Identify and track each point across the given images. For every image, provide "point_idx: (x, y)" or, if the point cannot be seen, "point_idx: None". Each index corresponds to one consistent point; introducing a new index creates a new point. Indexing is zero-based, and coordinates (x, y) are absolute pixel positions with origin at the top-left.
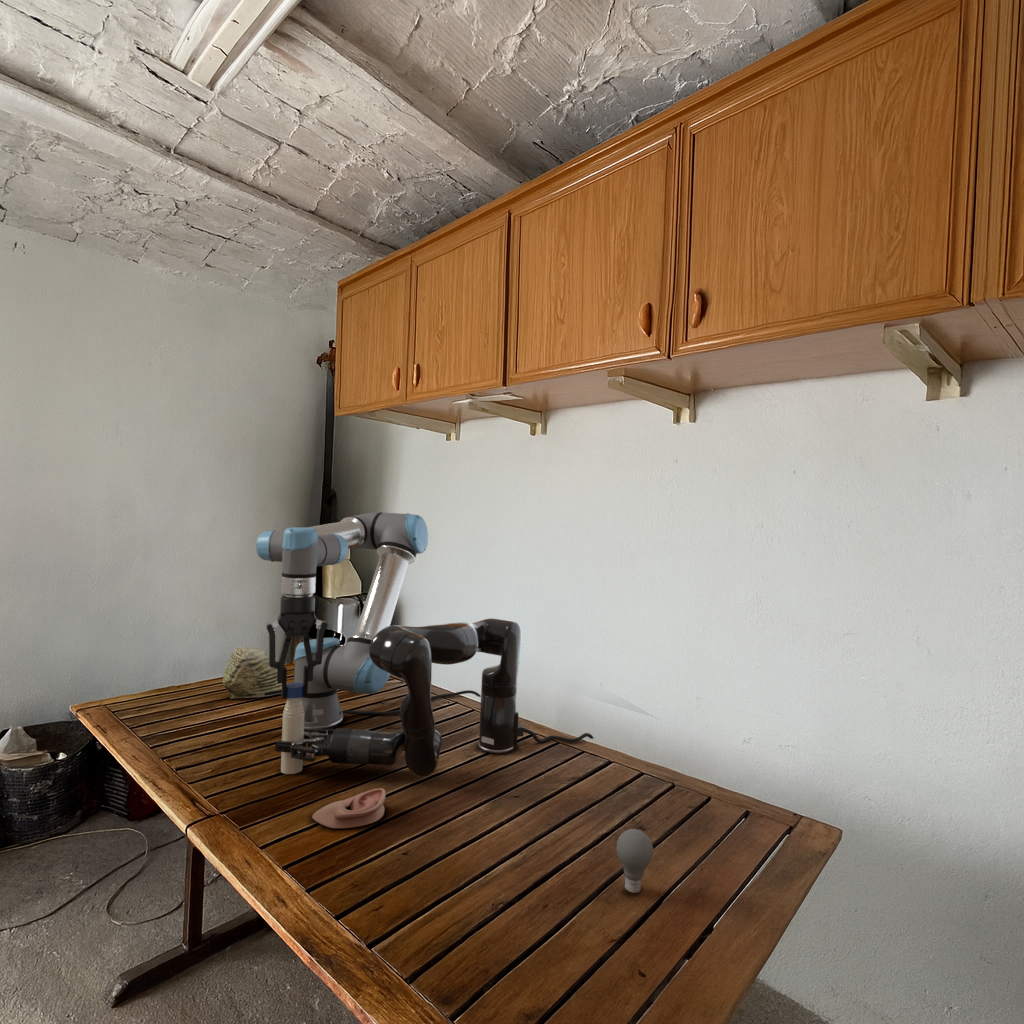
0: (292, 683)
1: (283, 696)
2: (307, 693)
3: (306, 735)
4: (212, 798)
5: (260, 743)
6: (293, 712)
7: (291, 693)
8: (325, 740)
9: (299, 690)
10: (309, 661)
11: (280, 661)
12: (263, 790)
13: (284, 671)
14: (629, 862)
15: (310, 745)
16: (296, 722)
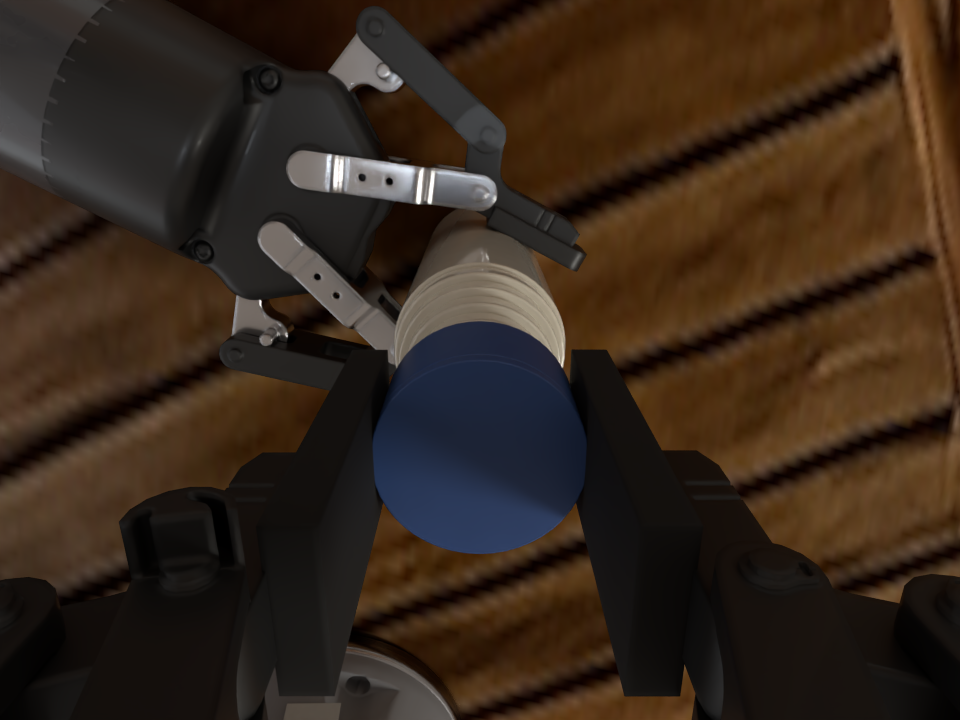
0: (498, 534)
1: (600, 357)
2: (346, 363)
3: (394, 320)
4: (869, 42)
5: (582, 582)
6: (491, 281)
7: (523, 344)
8: (280, 181)
9: (433, 354)
10: (185, 631)
11: (847, 665)
12: (633, 53)
13: (678, 513)
14: None
15: (381, 156)
16: (465, 254)
